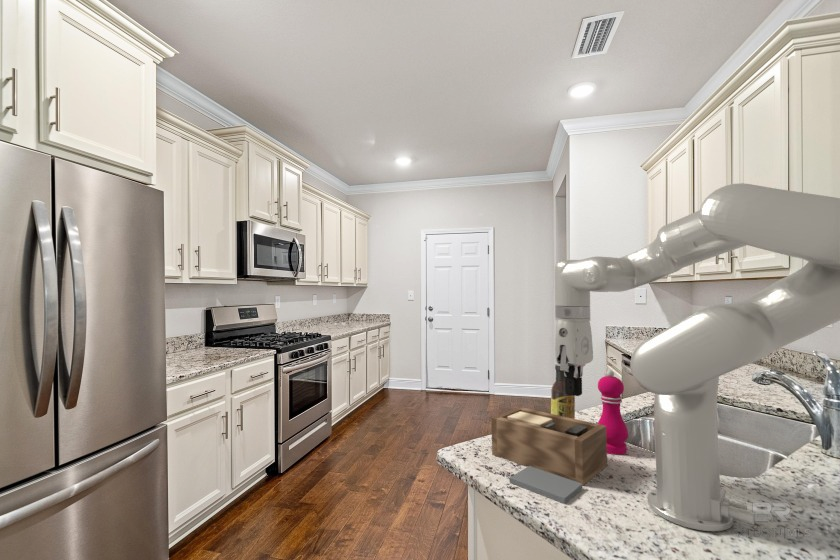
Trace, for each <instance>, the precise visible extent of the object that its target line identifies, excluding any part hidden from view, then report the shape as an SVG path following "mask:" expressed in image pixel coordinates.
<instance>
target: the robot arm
mask: <svg viewBox="0 0 840 560" xmlns="http://www.w3.org/2000/svg"><path fill="white" fill-rule="evenodd" d="M746 246H747V247H748V246H749V247H752V248H757V249H761V250H764V251H768V252H773V253H777V254H780V255H785V256H787V257H790V258H791V257H792V258H796V259H799V260H803V261H806V262H807V263H806V264H805V265H803V267H801V268H800V269H797V271H795V272H793V273H791V274H789V275H787V276H785V277H783V278H781V279H778V280H777V281H775V282H773V283H772V284H770V285H768V286H767V287H765V288H763V289H761V290H759V291H757V292H756V293H754V294H751V295H749V296H747V297H746V298H744V299H742V300H739V301H736V302H732V303H731V302H730V303H721V304H714V305H710V306H708V307H704V308H702V309H700V310H698V311H696V312H694V313H692V314H691V315H689V316H687V317H685V318H682V319H681V320H680V321H678V322H676V323H674V324H672V325H671V326H669V327H667V328H666V329H664V330H662V331H660V332H658V333H656V334H655V335H652V336H651V337H649V338H648V339H645V340H644V341H642V342H641V343H639V345H638V346H637V347H635V349H634V351H633V352H632V354H631V358H630V361H629V362H630V364H629V365H630V372H631V375H632V377H633V379H634V381H635V382H636V383H637V384H638V385H639V386H640V387H641V388H642V389H644V390H646V391H647V392H650V393H652V394H654V400H653V401H654V402H653V418H654V419H653V424H654V425H653V426H654V446H655V447H654V448H655V473H656V475H655V476H656V488H655V489H653V490H651V491H649V492H648V494H647V504H648V506H649V507H650V509H651V510H652V511H653V512H655V514H657V515H658V516H660V517H662V518H663V519H665V520H667V521H669V522H671V523H673V524H676V525H679V526H681V527H685V528H688V529H693V530H697V531H704V532H722V531H726V530H729V529H730V528H732V526H733V525H734V519H735V520H739V521H740V522H742V523H746V524H749V525H752V526H754V525H756V523H755V522H756V513H755V511H752V510H748V505H747V504H742V503H740V502H735V501H731V500H730V498H728V497H726V489H723V488H721V479H720V478H721V477H720V459H719V458H720V457H719V456H720V454H719V434H718V433H719V431H718V429H719V426H718V423H719V422H718V393H719V382H720V377H721V376H723V375H726V374H729V373H730V372H733V371H735V370H738V369H740V368H742V367H745V366H748V365H749V364H752V363H755V362H758V361H760V360H762V359H765V358H766V357H767V356H769V355H770V354H772V353H774V352H776V351H778V350H779V349H781V348H783V347H785V346H788V345H790V344H792V343H794V342H796V341H798V340H800V339H803V338H806V337H807V336H810V335H812V334H814V333H816V332H818V331H820V330H821V329H824V328H827V327H829V326H831V325H833V324H835V323H838V322H839V321H840V197H835V196H828V195H820V194H814V193H808V192H801V191H793V190H788V189H780V188H776V187H770V186H769V187H768V186H762V185H758V184H757V185H756V184H752V183H745V182H744V183H743V182H742V183H731V184H727V185H724V186H722V187H719V188H717V189H715V190H713V191H712V192H711V193H710V194H708V196H707V197H706V198H704V200H703V202H702V203H701V205H700V208H699V210H697V211H694V212H692V213H690V214H688V215H685V216H684V217H681V218H679V219H676V220H675V221H672V222H669V223H668V224H666V225H663V226H662V227H660V228H659V229H658V231H657V234H656V237H655V239H654V240H653V241H652V242H651V243H649V244H648V245H646V246H644V247H643V248H641V249H639V250H636V251H635V252H632V253H628V254H626V255H624V256H621V257H613V256H612V257H610V256H592V257H588V258H587V257H586V258H582V259H566V260H564V259H563V260H559V261H558V262H556V263H555V265H554V309H555V312H554V313H555V314H554V315H555V316H554V319H555V321H556V325H555V326H556V327H555V337H554V338H555V339H554V344H555V345H554V354H555V355H554V356H555V357H554V358H555V362H556V364H560V370H561V371H564V376H565V393H566V394H569V395H574V396H575V397H579V396H581V395H583V378H582V377H583V374H584V367H585V366H586V365H587V364H589V363H591V362H592V361H593V359H594V349H593V348H594V346H593V334H592V327H591V322H590V321H591V292H593V293H608V292H612V293H614V292H615V293H616V292H617V293H619V292H620V293H621V292H625V291H626V292H627V291H629V290H633V289H635V288H639V287H641V286H644V285H647V284H650V283H653V282H656V281H659V280H661V279H663V278H665V277H667V276H669V275H671V274H674V273H677V272H679V271H680V270H682V269H684V268H686V267H689V266H692V265H694V264H697V263H700V262H703V261H706V260H709V259H711V258H715V257H717V256H719V255H722V254H725V253H729V252H731V251H734V250H736V249H740V248H743V247H746Z"/></svg>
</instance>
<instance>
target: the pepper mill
mask: <svg viewBox="0 0 840 560" xmlns="http://www.w3.org/2000/svg"><path fill="white" fill-rule="evenodd" d="M605 374H606V375H604V376H602V377H600V379H599V380H598V382H597V389H598V391H599V392H600V393H601V394H600V396H599V397H600V399H599V401H600V402H601V403H602V411H601V415H600V418H599V420H598V422H597V424H600V425H604V426H606V439H607V454H609V455H615V456H617V455H620V456H621V455H625V454H626V453H627V450H628V449H627V444H626V441H627V440H628V438H629V429H628V427H627V425H626V423H625V421H624V418H623V417H622V414H621V404H622V403H623V400H622V399H623V397H622V394H623V393H624V391H625V386H624V384H623V383H624V382H623V381H622V380H621V379H620V378H618V377H616V376H614V375H615V372H614V371H613V370H611V369H608V370H607V371H606V373H605Z"/></svg>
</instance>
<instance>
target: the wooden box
mask: <svg viewBox="0 0 840 560" xmlns="http://www.w3.org/2000/svg"><path fill="white" fill-rule="evenodd" d="M520 411H521V412H525V413H529V414H534V415H538V416H542V417H547V418H551V419H553V423H556V430H558V431H560V432H557V431H553V430H549V429H546V428H542V427H538V426H534V425H530V424H526V423H522V422H518V421H514V420H510V419H507V416H510V415H512V414H515V413H517V412H520ZM490 421H491V423H490V424H491V454H492V455H493V456H495V457H498V458H502V459H504V460H507V461H510V462H513V463H515V464H518V465H522V466H525V467H528V466H531V467H534V468H537V469H540V470H543V471H546V472H549V473H552V474H555V475H558V476H561V477H564V478H567V479H570V480H573V481H576V482H579V483H581V484H582V486H584V485H585V484H587V483H588V482H589V481H591V480H592V479H593V478H594V477H596V476H597V475H598V474H599V473H600V472H601V471H603V470H604V469H605V468H606V467H608V453H607V439H606V426H604V425H600V424H598V423H595V422H590V421H585V420H582V419H576V418H575V419H573V418H568V417H564V416H559V415H555V414H551V412H550V413H549V412H545V411H540V410H535V409H532V408H527V407H521V406H518V407H516V408H513V409H511V410H508V411H506V412H502V413H500V414H498V415H495V416H493V417H491V420H490ZM575 425H581V426H586V427H588V432H586V433H584V434H583V435H581V436H579V437H577V436H573V435H569V434H565V431H566V430H568V429H569V428H571V427H573V426H575Z"/></svg>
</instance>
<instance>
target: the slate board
mask: <svg viewBox="0 0 840 560" xmlns="http://www.w3.org/2000/svg"><path fill="white" fill-rule="evenodd" d="M508 480H509V483H510V484H513V485H515V486H518V487H520V488H522V489H526V490H528V491H530V492H533V493H536V494H538V495H541V496H543V497H546V498H548V499H551V500H554V501H557V502H559V503H562V504H566V503H567V502H568V501H570V500H571V499H572V498H573V497H575V496H576V495H577V494H579V492H581V491H582V490H583V489H584V488H583V485H582V484H581V483H579V482H576V481H573V480H570V479H567V478H564V477H561V476H558V475H555V474H552V473H549V472H546V471H543V470H540V469H537V468H534V467H531V466H528V467H527V466H525V468H523V469H521V470H520V471H518V472H516V473H515V474H512V476H510V477H509V479H508Z"/></svg>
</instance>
